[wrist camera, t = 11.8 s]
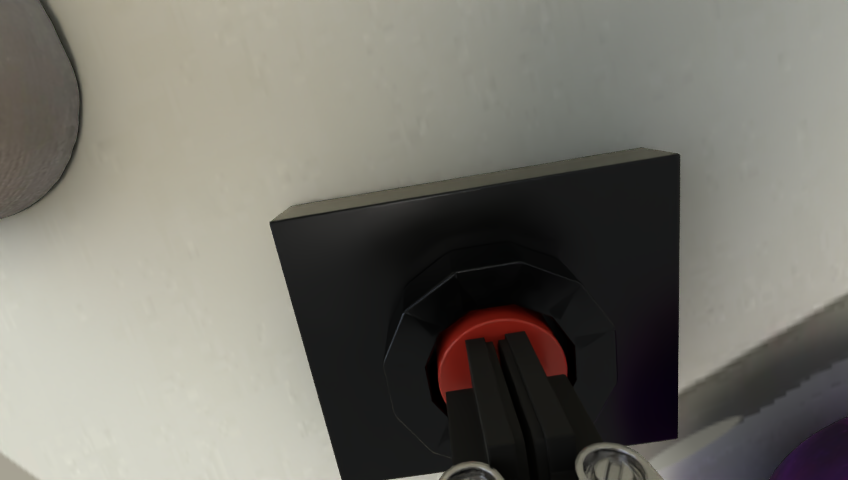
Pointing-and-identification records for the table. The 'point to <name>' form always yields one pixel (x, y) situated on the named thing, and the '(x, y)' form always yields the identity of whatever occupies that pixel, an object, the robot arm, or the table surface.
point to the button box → (488, 296)
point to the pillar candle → (33, 105)
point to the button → (494, 342)
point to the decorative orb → (818, 456)
